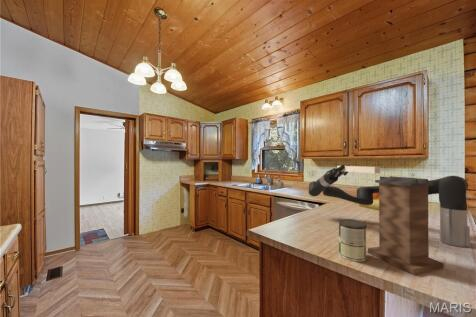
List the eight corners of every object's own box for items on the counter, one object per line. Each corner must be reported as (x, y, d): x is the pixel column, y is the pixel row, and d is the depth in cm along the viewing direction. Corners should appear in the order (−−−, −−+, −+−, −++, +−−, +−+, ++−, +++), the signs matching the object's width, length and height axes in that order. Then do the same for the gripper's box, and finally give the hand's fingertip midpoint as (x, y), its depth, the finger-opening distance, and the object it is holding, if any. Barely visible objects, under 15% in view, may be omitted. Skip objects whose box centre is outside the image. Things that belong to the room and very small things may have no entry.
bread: (397, 211, 164) (397, 193, 165) (387, 212, 160) (387, 194, 160) (368, 205, 188) (368, 189, 188) (358, 206, 183) (358, 189, 183)
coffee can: (334, 250, 91) (334, 219, 91) (356, 250, 91) (356, 219, 92) (347, 262, 81) (347, 226, 81) (372, 261, 81) (372, 226, 81)
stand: (367, 252, 89) (367, 176, 89) (394, 248, 94) (394, 175, 94) (413, 274, 72) (412, 180, 72) (443, 268, 76) (443, 179, 77)
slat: (337, 170, 121) (337, 165, 121) (342, 170, 122) (342, 165, 122) (374, 173, 98) (374, 167, 98) (380, 173, 99) (380, 167, 99)
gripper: (339, 184, 130) (359, 171, 116) (321, 184, 126) (339, 172, 112) (335, 173, 134) (354, 160, 120) (317, 173, 130) (334, 160, 116)
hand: (346, 166), depth 116 cm, fingers closed on slat, 3 cm apart
